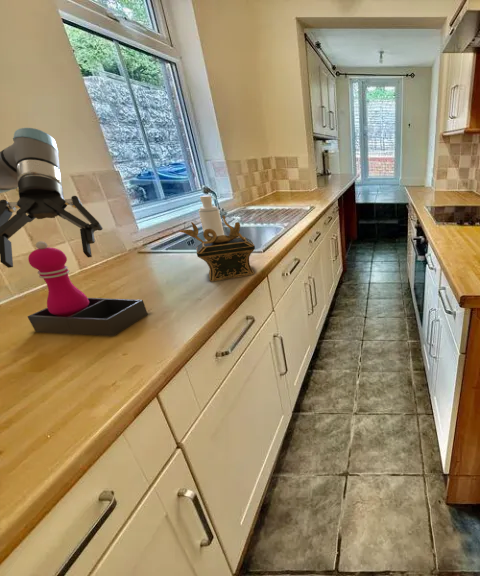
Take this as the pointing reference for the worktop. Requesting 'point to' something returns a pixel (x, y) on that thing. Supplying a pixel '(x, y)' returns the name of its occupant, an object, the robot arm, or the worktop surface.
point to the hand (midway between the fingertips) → (49, 259)
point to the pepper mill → (57, 281)
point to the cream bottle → (210, 216)
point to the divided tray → (92, 318)
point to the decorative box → (224, 252)
